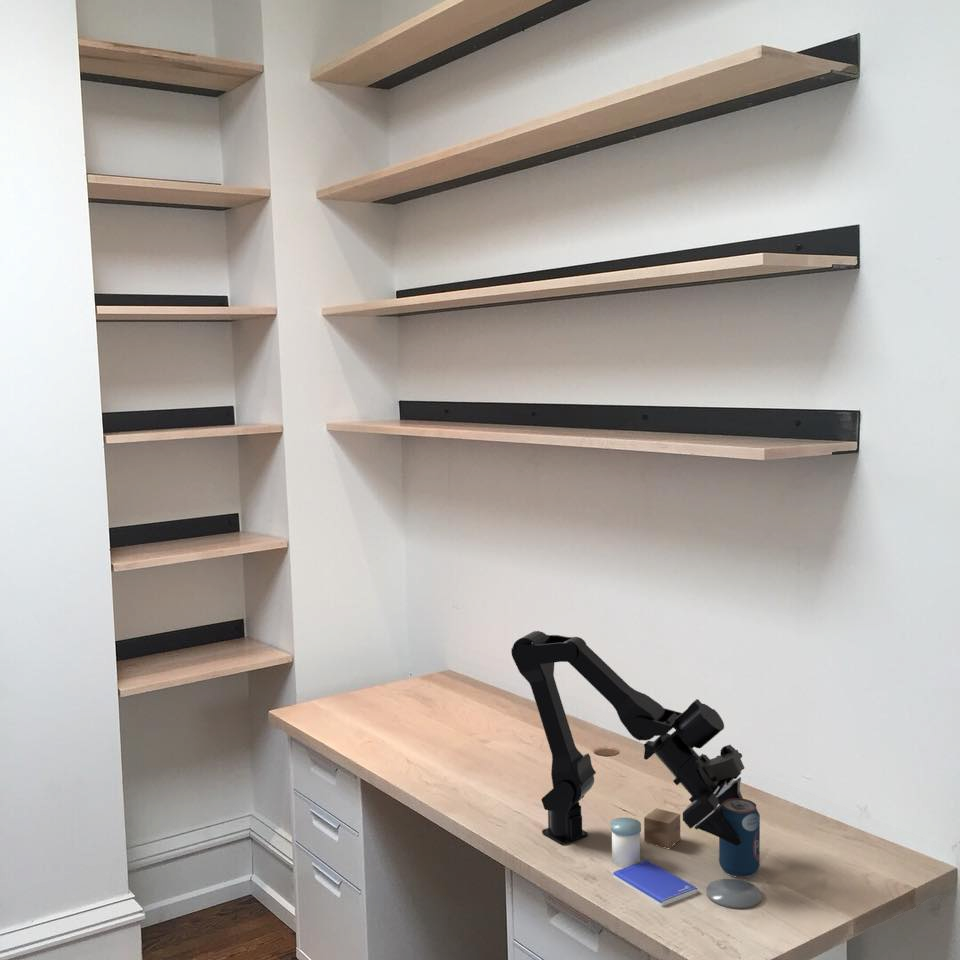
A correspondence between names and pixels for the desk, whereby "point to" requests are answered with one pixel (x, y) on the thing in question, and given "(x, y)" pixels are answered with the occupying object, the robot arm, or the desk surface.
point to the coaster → (734, 893)
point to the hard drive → (655, 883)
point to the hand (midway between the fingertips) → (745, 833)
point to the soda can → (741, 838)
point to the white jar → (625, 841)
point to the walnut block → (662, 828)
